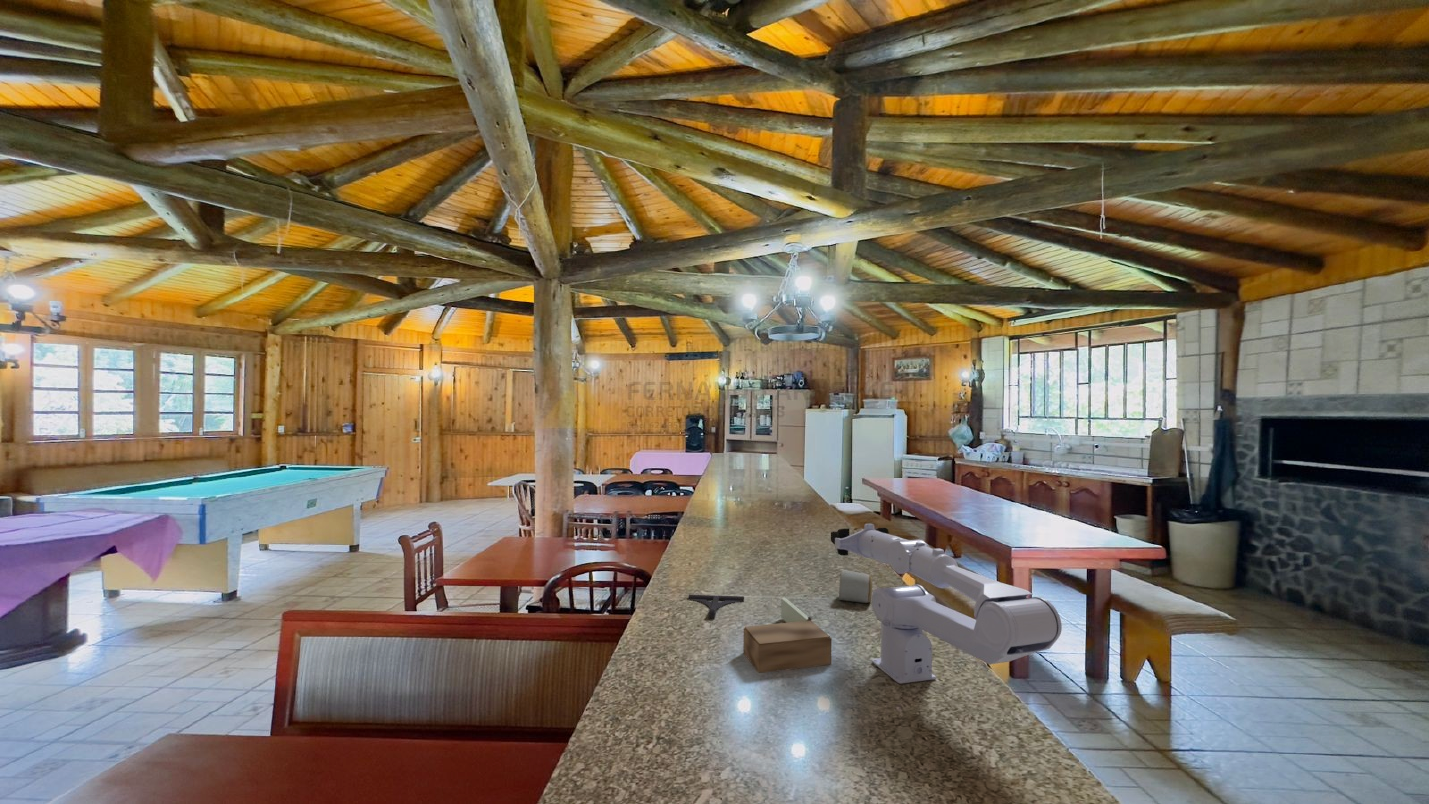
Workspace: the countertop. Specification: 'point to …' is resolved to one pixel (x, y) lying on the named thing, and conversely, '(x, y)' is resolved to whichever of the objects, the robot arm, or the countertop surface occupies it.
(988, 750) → the countertop surface
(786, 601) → the door
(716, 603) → the bracket
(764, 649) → the cabinet
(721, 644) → the countertop surface
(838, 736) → the countertop surface
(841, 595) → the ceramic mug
